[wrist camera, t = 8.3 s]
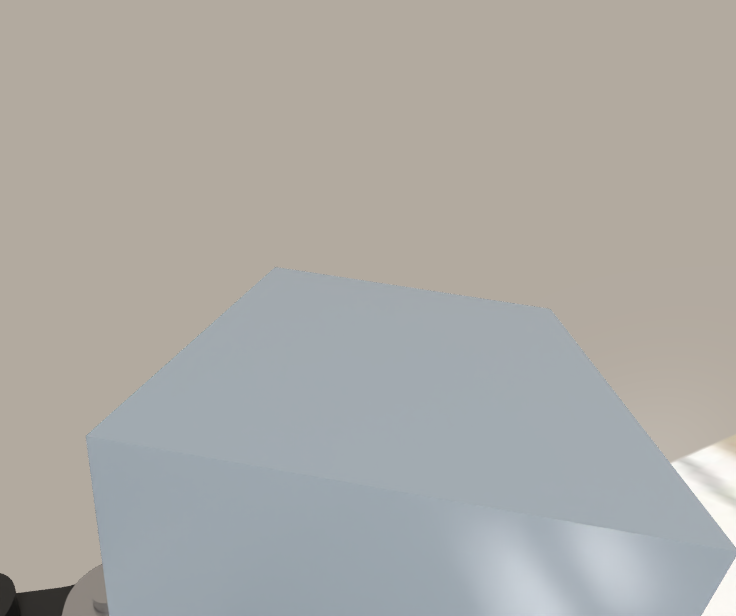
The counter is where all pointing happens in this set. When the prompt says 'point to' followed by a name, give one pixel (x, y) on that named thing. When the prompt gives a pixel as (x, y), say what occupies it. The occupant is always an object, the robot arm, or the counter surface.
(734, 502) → the counter surface
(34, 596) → the robot arm
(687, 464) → the counter surface
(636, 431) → the tall pale blue block
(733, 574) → the counter surface
